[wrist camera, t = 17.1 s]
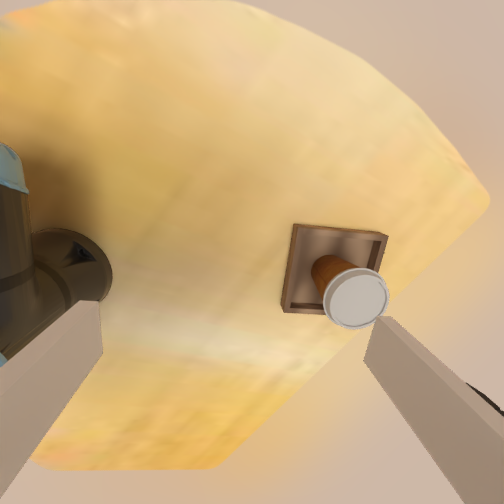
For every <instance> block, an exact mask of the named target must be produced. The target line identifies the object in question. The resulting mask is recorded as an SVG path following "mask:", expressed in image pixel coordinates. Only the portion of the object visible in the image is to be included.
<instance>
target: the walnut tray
mask: <svg viewBox="0 0 504 504" xmlns="http://www.w3.org/2000/svg"><path fill="white" fill-rule="evenodd" d="M388 237H389V236H387V235H385V234H382V233H380V232H373V231H363V230H352V229H342V228H332V227H321V226H311V225H301V224H294V226H293V232H292V238H291V244H290V250H289V256H288V263H287V269H286V275H285V281H284V287H283V293H282V299H281V307H282V309H283V312H284V313H301V314H319V315H326V313H325V311H324V307H323V301H322V299H321V296H320V294H319V292H318V290H317V287H316V285H315V283H314V281H313V279H312V276H311V269H312V266H313V264H314V263H315V261H316V260H317V259H319V258H320V257H322V256H324V255H335V256H337V257H339V258H341V259H343V260H346V261H348V262H350V263H352V264H354V265H356V266H359V267H361V268H367V269H371V270H373V271H375V272H377V273H378V271H379V268H380V264H381V261H382V258H383V254H384V251H385V247H386V244H387V240H388Z"/></svg>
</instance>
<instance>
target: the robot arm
mask: <svg viewBox="0 0 504 504" xmlns="http://www.w3.org/2000/svg"><path fill="white" fill-rule="evenodd" d="M28 194H29V190H28V189H27V188H26V185H25V179H24V173H23V167H22V162H21V159H20V158H19V156H18V155H17V153H16V152H15V151H14V150H12V149H11V148H10V147H8V146H7V145H5V144H3V143H0V498H1V497H2V495H3V494H4V493H5V491H6V490H7V488H8V487H9V485H10V484H11V482H12V481H13V480H14V478H15V477H16V476H17V474H18V473H19V471H20V470H21V469H22V467H23V466H24V464H25V463H26V461H27V460H28V459H29V457H30V456H31V454H32V453H33V452H34V450H35V449H36V447H37V446H38V444H39V443H40V442H41V440H42V439H43V437H44V436H45V435H46V433H47V432H48V430H49V429H50V427H51V426H52V425H53V423H54V422H55V420H56V419H57V418H58V416H59V415H60V413H61V412H62V410H63V409H64V408H65V406H66V405H67V403H68V402H69V401H70V399H71V398H72V396H73V395H74V393H75V392H76V391H77V389H78V388H79V386H80V385H81V384H82V382H83V381H84V379H85V378H86V376H87V375H88V374H89V372H90V371H91V369H92V368H93V367H94V365H95V364H96V362H97V361H98V360H99V358H100V357H101V355H102V354H103V347H102V336H101V325H100V314H99V302H100V301H101V300H102V299H103V298H104V297H105V296H106V295H107V293H108V291H109V289H110V287H111V282H112V271H111V267H110V264H109V261H108V259H107V257H106V256H105V254H104V253H103V252H102V250H101V249H100V248H99V247H98V246H97V245H96V244H95V243H94V242H92V241H91V240H90V239H88V238H87V237H85V236H83V235H81V234H79V233H76V232H73V231H70V230H65V229H46V230H42V231H39V232H36V233H32V234H31V224H30V214H29V204H28ZM363 361H364V362H365V364H366V365H367V367H368V368H369V369H370V371H371V372H372V373H373V375H374V376H375V378H376V379H377V381H378V382H379V383H380V385H381V386H382V388H383V389H384V391H385V392H386V393H387V395H388V396H389V397H390V399H391V400H392V402H393V403H394V405H395V406H396V407H397V409H398V410H399V411H400V413H401V415H402V416H403V417H404V419H405V420H406V421H407V423H408V424H409V426H410V427H411V429H412V430H413V431H414V433H415V434H416V436H417V437H418V438H419V440H420V441H421V443H422V444H423V446H424V447H425V448H426V450H427V451H428V452H429V454H430V455H431V457H432V458H433V460H434V461H435V462H436V464H437V465H438V467H439V468H440V470H441V471H442V472H443V474H444V475H445V477H446V478H447V479H448V481H449V482H450V484H451V485H452V486H453V488H454V489H455V490H456V492H457V493H458V495H459V496H460V498H461V499H462V501H463V502H464V503H465V504H504V411H501V410H500V408H499V407H498V406H497V405H496V404H495V403H493V402H492V401H491V400H490V399H489V398H488V397H487V396H486V395H484V394H483V393H481V392H480V391H478V390H477V389H475V388H474V387H472V386H470V385H469V384H468V383H465V382H464V381H463V380H461V379H460V378H459V377H458V376H457V375H456V374H455V373H453V371H451V370H450V369H449V368H448V367H447V366H446V365H445V364H444V363H442V362H441V361H440V360H439V359H438V358H437V357H436V356H435V355H433V354H432V353H431V352H430V351H429V350H428V349H427V348H426V347H424V346H423V345H422V344H421V343H420V342H419V341H418V340H417V339H416V338H414V337H413V336H412V335H411V334H410V333H409V332H407V330H405V329H404V328H403V327H402V326H401V325H400V324H399V323H398V322H396V321H395V320H394V319H393V318H392V317H389V316H377V317H376V320H375V324H374V328H373V330H372V334H371V337H370V340H369V344H368V347H367V350H366V354H365V357H364V360H363Z"/></svg>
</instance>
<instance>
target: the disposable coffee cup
mask: <svg viewBox="0 0 504 504" xmlns="http://www.w3.org/2000/svg"><path fill="white" fill-rule="evenodd" d="M311 276H312V279H313V281H314V283H315V285H316V287H317V290H318V292H319V294H320V296H321V299H322V301H323V307H324V311H325V313H326V315H327V317H328V318H329V319H330V320H331V321H332V322H334V323H335V324H337V325H340V326H342V327H344V328H347V329H361V328H365V327H368V326H370V325H372V324H373V323H375V320H376V317H377V316H382V315H383V314H384V313H385V311H386V309H387V306H388V304H389V291H388V288H387V286H386V283H385V281H384V279H383V278H382V277H381V276H380V275H379V274H378V273H377V272H375V271H373V270H371V269H367V268H361V267H359V266H356V265H354V264H352V263H350V262H348V261H346V260H343V259H341V258H339V257H337V256H335V255H324V256H322V257H320V258H319V259H317V260H316V261H315V263H314V264H313V266H312V269H311Z"/></svg>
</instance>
